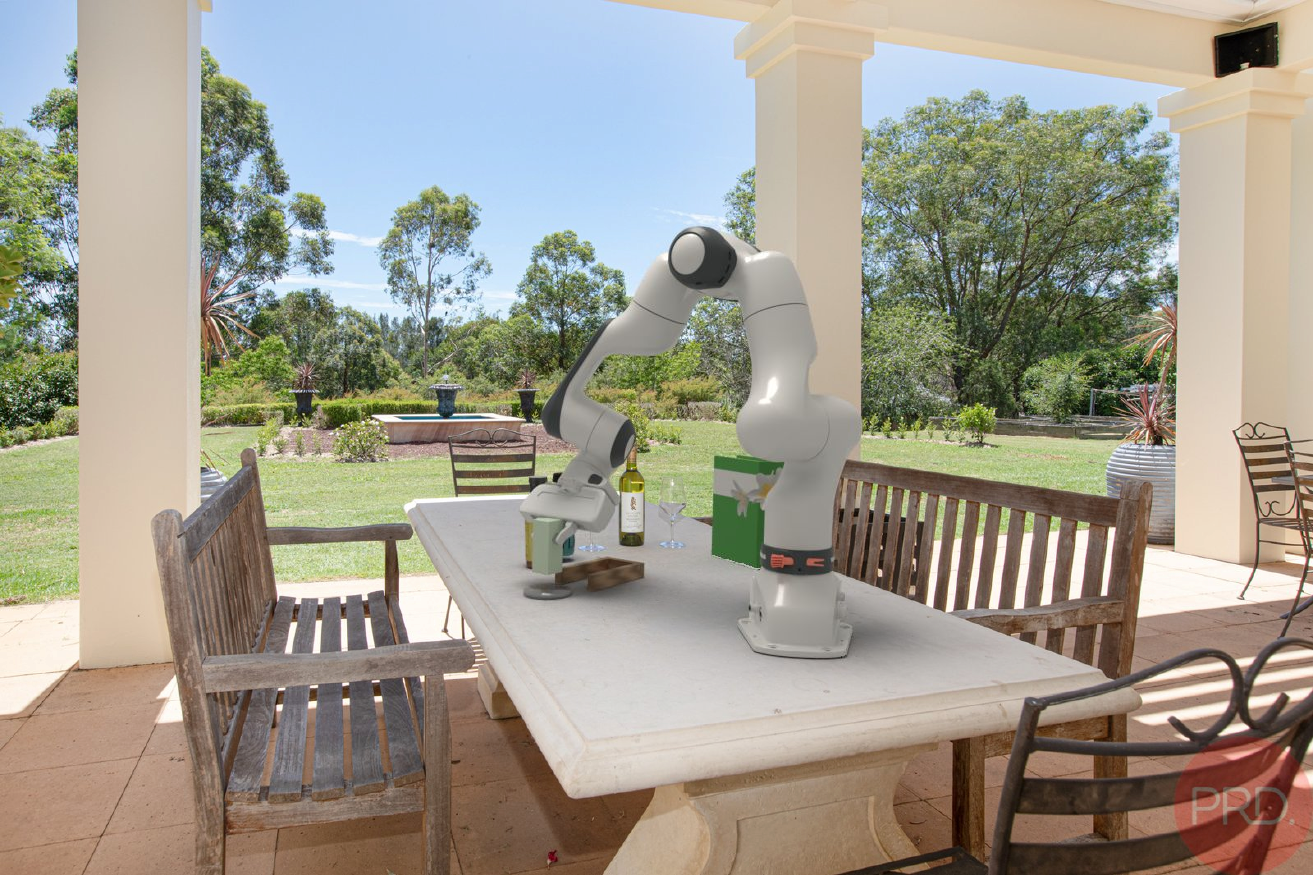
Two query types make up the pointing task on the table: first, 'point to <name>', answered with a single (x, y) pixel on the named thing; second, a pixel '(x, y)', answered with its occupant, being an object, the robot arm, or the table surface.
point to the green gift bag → (728, 528)
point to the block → (546, 546)
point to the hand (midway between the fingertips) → (545, 541)
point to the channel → (601, 572)
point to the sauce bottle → (533, 482)
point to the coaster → (547, 592)
